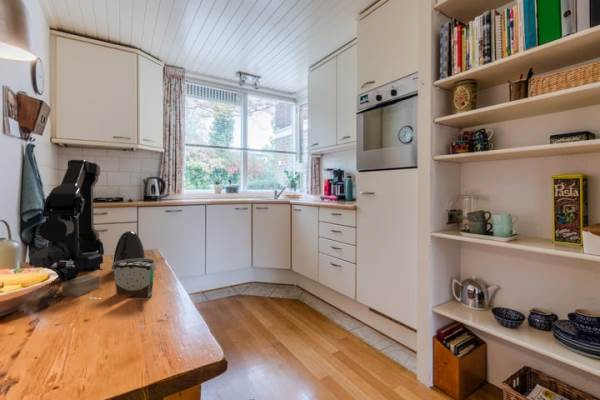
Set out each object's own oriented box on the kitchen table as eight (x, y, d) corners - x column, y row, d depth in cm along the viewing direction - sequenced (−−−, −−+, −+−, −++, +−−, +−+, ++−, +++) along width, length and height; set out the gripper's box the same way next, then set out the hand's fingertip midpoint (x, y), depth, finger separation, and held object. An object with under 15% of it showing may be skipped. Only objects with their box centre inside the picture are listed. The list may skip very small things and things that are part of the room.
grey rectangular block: (62, 295, 79) (61, 282, 79) (84, 286, 86) (84, 275, 86) (78, 296, 79) (77, 283, 78) (99, 287, 85) (99, 275, 85)
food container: (165, 291, 86) (165, 258, 85) (153, 299, 80) (152, 263, 79) (126, 290, 87) (126, 257, 86) (111, 297, 81) (111, 262, 80)
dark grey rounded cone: (107, 277, 99) (106, 233, 98) (121, 269, 109) (120, 229, 108) (139, 276, 100) (138, 233, 99) (150, 268, 110) (149, 228, 110)
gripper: (6, 239, 76) (8, 297, 76) (68, 241, 73) (69, 302, 74) (48, 232, 87) (50, 284, 87) (104, 234, 84) (105, 287, 85)
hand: (67, 289), depth 83 cm, fingers closed
